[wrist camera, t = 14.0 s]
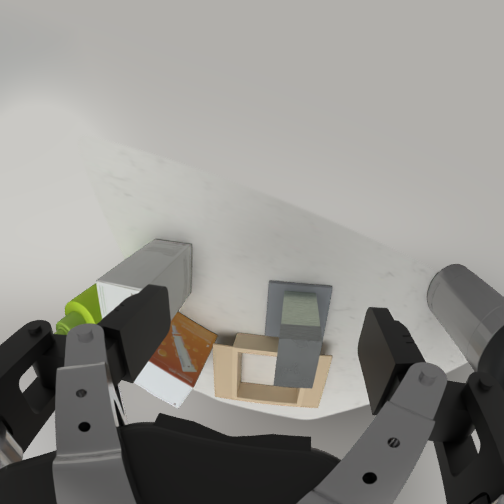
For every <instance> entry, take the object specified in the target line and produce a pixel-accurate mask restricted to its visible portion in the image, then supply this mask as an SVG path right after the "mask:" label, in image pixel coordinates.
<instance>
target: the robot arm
mask: <svg viewBox="0 0 504 504" xmlns="http://www.w3.org/2000/svg"><path fill="white" fill-rule="evenodd" d="M427 302H428V306H429V308H430V310H431V311H432V313H433V314H434V315H435V317H436V318H437V319H438V320H439V322H440V323H441V325H442V326H443V327H444V329H445V330H446V331H447V333H448V334H449V335H450V337H451V338H452V339H453V341H454V342H455V344H456V345H457V346H458V348H459V349H460V351H461V352H462V354H463V355H464V356H465V358H466V359H467V361H468V362H469V364H470V365H471V367H472V368H473V370H474V371H475V372H474V373H472V374H471V375H470V376H469V378H468V379H467V381H466V383H459V382H453V381H447V376H446V374H445V373H444V371H443V370H442V369H441V368H439V367H438V366H436V365H434V364H431V363H426V362H425V360H424V358H423V356H422V354H421V353H420V351H419V349H418V347H417V345H416V344H415V343H414V340H413V338H412V337H411V335H410V333H409V331H408V329H407V328H406V327H405V326H404V325H403V324H401V323H400V322H399V321H394V319H393V317H392V315H391V314H390V312H389V310H388V309H387V308H376V307H369V308H368V309H367V312H366V316H365V320H364V324H363V327H362V331H361V335H360V338H359V343H358V357H359V361H360V364H361V368H362V372H363V376H364V380H365V384H366V389H367V393H368V397H369V401H370V406H371V410H372V415H377V416H376V417H375V419H374V420H373V421H372V423H371V424H370V425H369V427H368V428H367V429H366V431H365V432H364V433H363V435H362V436H361V437H360V439H359V440H358V441H357V442H356V443H355V445H354V446H353V447H352V448H351V450H350V451H349V452H348V453H347V454H346V456H345V457H344V458H343V459H342V460H340V459H338V458H337V457H335V456H333V455H331V454H329V453H327V452H325V451H322V450H319V449H316V448H312V447H311V437H303V436H288V435H276V434H269V435H256V436H240V437H239V436H238V437H232V436H227V435H225V434H222V433H219V432H217V431H215V430H212V429H210V428H207V427H205V426H203V425H201V424H198V423H196V422H194V421H189V420H185V419H180V418H176V417H173V416H169V415H165V414H162V413H159V415H158V417H157V419H156V421H155V422H140V423H132V424H128V420H127V417H126V413H125V409H124V405H123V400H122V397H121V391H120V388H119V385H118V384H119V382H120V381H121V380H124V381H127V382H130V383H134V381H135V380H136V378H137V377H138V375H139V374H140V372H141V371H142V370H143V368H144V367H145V365H146V364H147V363H148V361H149V360H150V358H151V357H152V355H153V354H154V353H155V351H156V350H157V348H158V347H159V346H160V344H161V343H162V341H163V340H164V339H165V337H166V336H167V334H168V333H169V330H170V325H171V317H170V306H169V294H168V289H167V287H165V286H159V285H153V284H148V285H147V286H146V287H144V288H143V289H142V290H141V291H140V292H139V293H138V294H137V293H136V294H134V295H132V296H130V297H127V298H126V299H125V300H123V301H122V302H121V303H120V304H119V305H118V306H117V307H115V308H114V310H112V311H111V312H110V313H109V314H108V315H106V316H105V317H104V318H103V319H102V320H101V321H100V322H99V323H98V324H91V323H87V324H81V325H78V326H75V327H74V328H72V329H71V330H70V331H69V332H68V333H67V335H61V334H53V331H52V328H51V325H50V323H49V322H47V321H44V320H36V321H32V322H29V323H27V324H26V325H24V326H23V327H22V328H21V329H19V330H18V331H17V332H16V333H14V334H13V335H12V336H11V337H9V338H8V339H7V340H6V341H5V342H4V343H2V344H1V345H0V504H393V502H394V500H395V499H396V498H397V496H398V494H399V493H400V491H401V490H402V488H403V486H404V485H405V483H406V481H407V480H408V478H409V476H410V474H411V472H412V471H413V469H414V467H415V465H416V463H417V461H418V459H419V457H420V455H421V453H422V451H423V449H424V447H425V445H426V443H427V441H428V440H430V441H433V442H434V446H435V449H436V454H437V458H438V462H439V466H440V471H441V475H442V480H443V485H444V490H445V495H446V501H447V504H504V297H503V296H502V295H500V294H499V293H498V292H497V291H496V290H494V289H493V288H492V287H490V286H489V285H488V284H487V283H485V282H484V281H483V280H482V279H480V278H479V277H478V276H477V275H475V274H474V273H473V272H471V271H470V270H468V269H467V268H466V267H465V266H463V265H460V264H453V265H450V266H447V267H445V268H444V269H442V270H441V271H440V272H439V273H438V274H437V275H436V276H435V277H434V279H433V281H432V282H431V284H430V287H429V290H428V295H427ZM31 366H33V368H34V370H35V372H36V374H37V378H36V379H35V380H34V381H33V382H32V384H31V385H30V386H29V387H28V388H27V389H26V390H25V391H24V392H23V393H22V392H21V390H20V388H19V380H20V378H21V376H22V375H23V374H24V373H25V372H26V371H27V370H28V369H29V368H30V367H31ZM54 411H55V428H56V447H57V450H56V451H53V452H50V453H47V454H43V455H40V456H37V457H33V458H29V459H26V460H22V458H23V453H24V452H25V451H26V449H27V448H28V446H29V445H30V443H31V442H32V440H33V439H34V438H35V436H36V435H37V434H38V432H39V431H40V429H41V428H42V427H43V425H44V424H45V423H46V421H47V420H48V419H49V417H50V416H51V415H52V413H53V412H54ZM475 429H476V431H477V434H478V437H479V439H480V444H481V445H480V451H479V453H477V450H476V447H475V445H474V441H473V439H472V436H471V434H472V432H473V431H474V430H475Z"/></svg>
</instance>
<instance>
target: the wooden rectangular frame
mask: <svg viewBox="0 0 504 504" xmlns="http://www.w3.org/2000/svg"><path fill="white" fill-rule="evenodd" d="M278 343H279V337H271V336H261V335H253V334H244V333H237V336H236V338H235V341H234V344H233V346H229V345H223V344H216V343H213V364H214V387H215V397H220V398H226V399H233V400H239V401H246V402H254V403H262V404H271V405H281V406H293V407H309V408H318V406H319V403H320V400H321V396H322V393H323V389H324V386H325V382H326V379H327V375H328V371H329V368H330V364H331V360H332V355H320V357H319V361H318V366H317V370H316V375H315V379H314V383H313V388H312V389H311V388H290V387H279V386H269V385H260V384H252V383H244V382H241V360H242V353H249V354H257V355H266V356H276V357H277V352H278Z"/></svg>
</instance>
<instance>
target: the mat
mask: <svg viewBox="0 0 504 504" xmlns="http://www.w3.org/2000/svg"><path fill="white" fill-rule="evenodd" d="M284 291H297V292H310V293H316V297H317V304H318V312H319V320H320V326H321V332H322V340H323V336H324V331H325V326H326V321H327V316H328V310H329V305H330V299H331V293H332V286H326V285H314V284H302V283H291V282H280V281H269V289H268V302H267V315H266V327H265V336H273V337H279V334H280V325H281V320H282V310H283V300H284Z"/></svg>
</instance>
